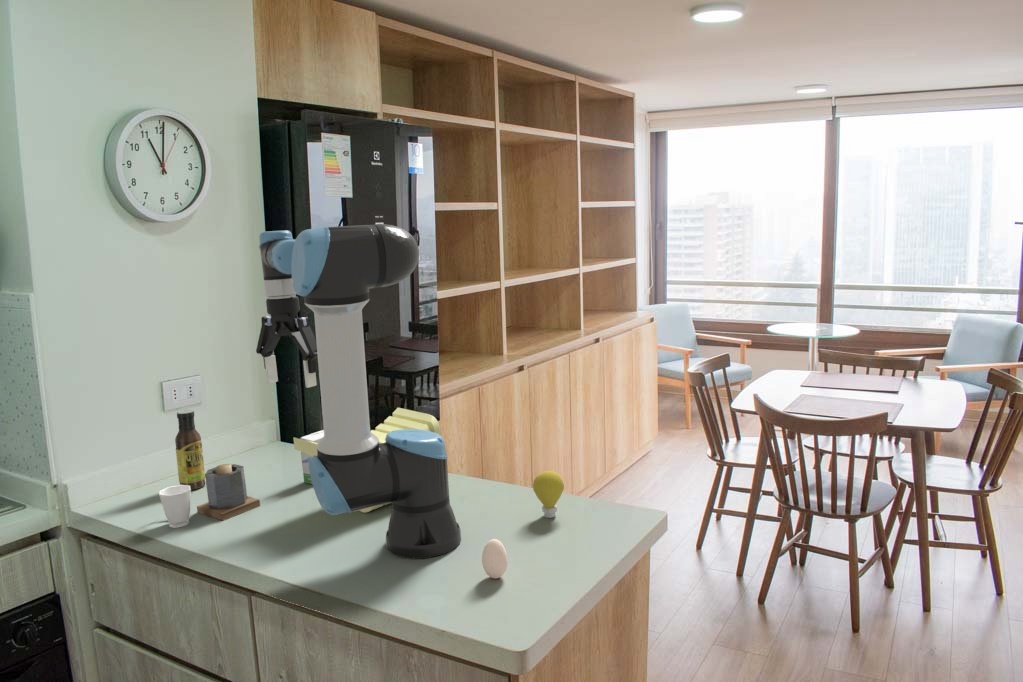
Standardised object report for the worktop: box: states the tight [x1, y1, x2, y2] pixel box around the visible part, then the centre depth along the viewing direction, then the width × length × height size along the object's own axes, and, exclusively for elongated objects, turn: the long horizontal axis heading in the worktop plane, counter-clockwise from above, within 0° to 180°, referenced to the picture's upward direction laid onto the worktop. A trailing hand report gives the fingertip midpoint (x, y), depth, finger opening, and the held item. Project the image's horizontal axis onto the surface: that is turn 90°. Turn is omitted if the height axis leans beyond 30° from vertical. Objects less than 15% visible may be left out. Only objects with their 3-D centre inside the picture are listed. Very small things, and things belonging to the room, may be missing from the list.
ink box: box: [300, 429, 324, 485], centre depth 204 cm, size 8×5×12 cm, turn 147°
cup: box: [158, 484, 192, 529], centre depth 180 cm, size 7×10×8 cm
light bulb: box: [532, 470, 565, 519], centre depth 172 cm, size 7×7×10 cm
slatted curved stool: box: [293, 407, 442, 513], centre depth 187 cm, size 30×16×18 cm, turn 136°
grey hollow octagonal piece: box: [205, 463, 248, 510], centre depth 187 cm, size 8×8×8 cm
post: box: [196, 463, 261, 521], centre depth 187 cm, size 10×10×10 cm
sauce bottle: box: [174, 409, 206, 491], centre depth 203 cm, size 6×6×20 cm
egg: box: [481, 538, 509, 579], centre depth 145 cm, size 5×5×7 cm
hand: (291, 384), depth 192 cm, fingers open, 13 cm apart
